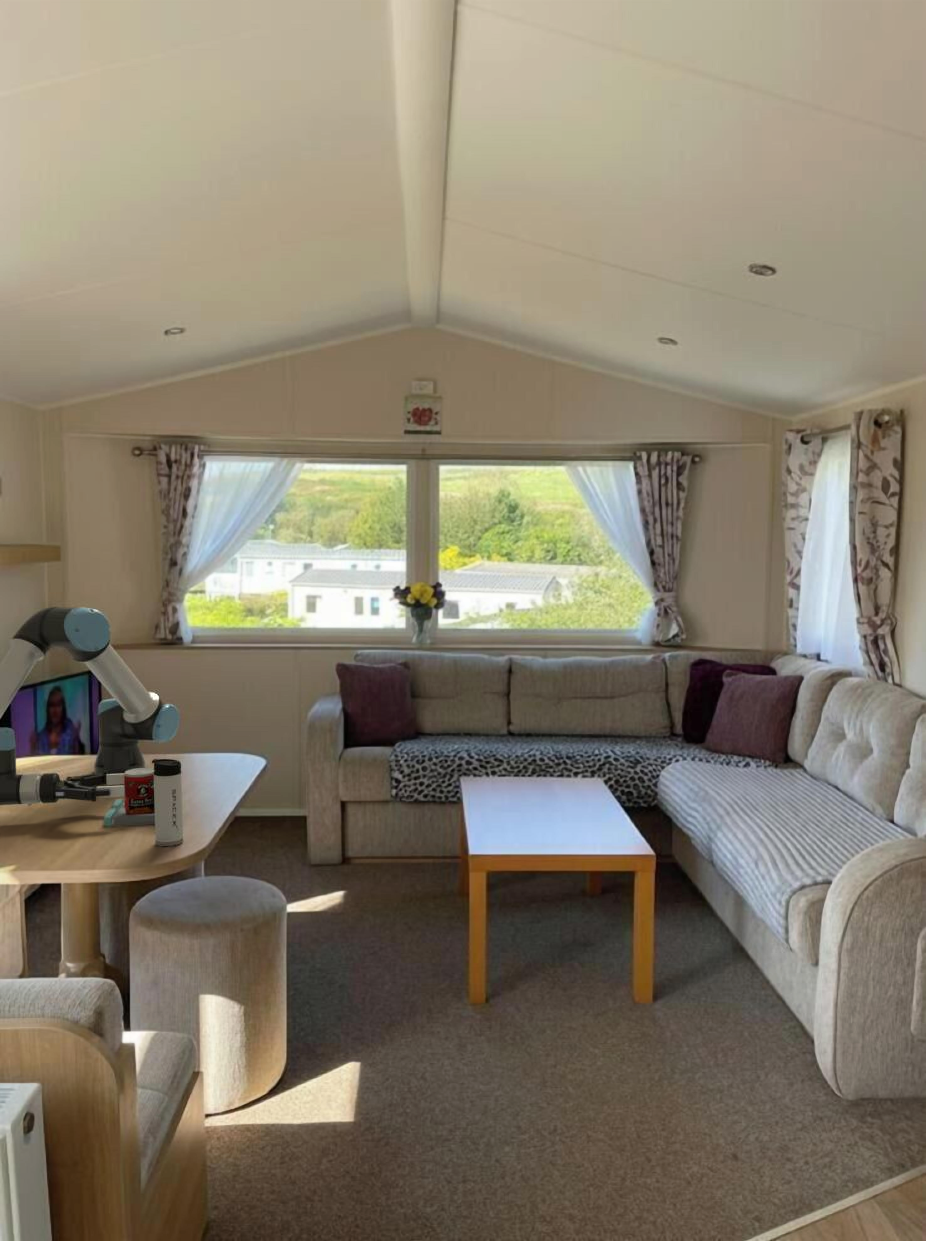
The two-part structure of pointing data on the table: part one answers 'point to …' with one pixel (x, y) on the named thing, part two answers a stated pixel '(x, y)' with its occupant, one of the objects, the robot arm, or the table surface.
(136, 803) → the canned food
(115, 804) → the tray with upright backboard
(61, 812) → the table surface
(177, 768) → the travel mug
